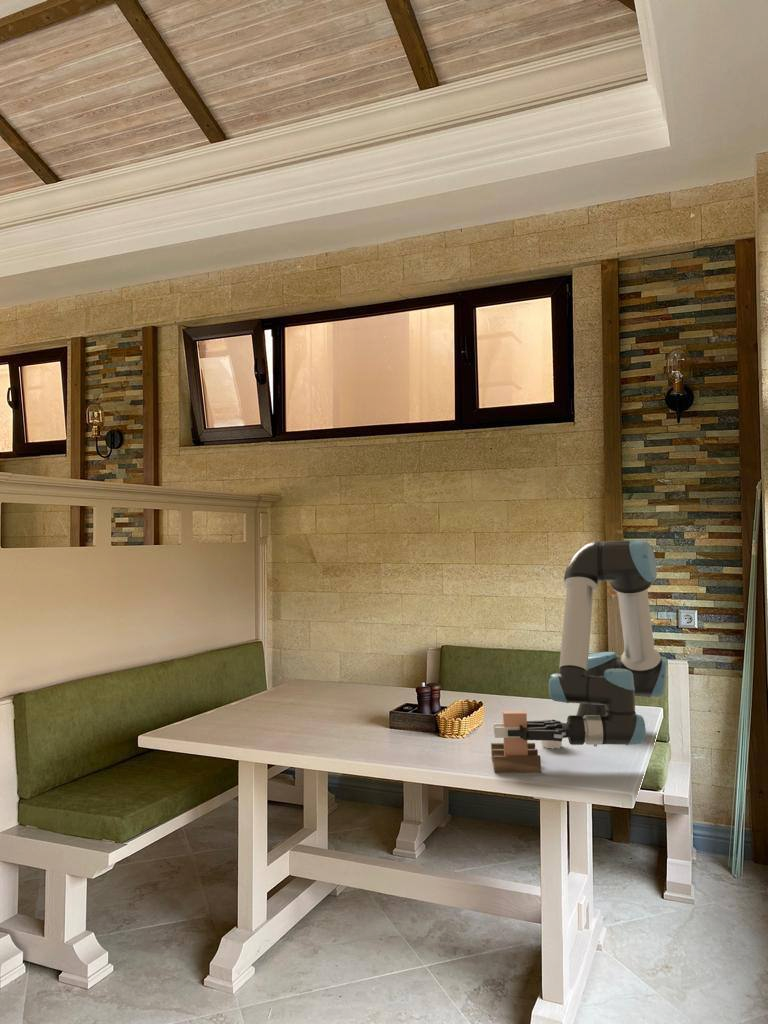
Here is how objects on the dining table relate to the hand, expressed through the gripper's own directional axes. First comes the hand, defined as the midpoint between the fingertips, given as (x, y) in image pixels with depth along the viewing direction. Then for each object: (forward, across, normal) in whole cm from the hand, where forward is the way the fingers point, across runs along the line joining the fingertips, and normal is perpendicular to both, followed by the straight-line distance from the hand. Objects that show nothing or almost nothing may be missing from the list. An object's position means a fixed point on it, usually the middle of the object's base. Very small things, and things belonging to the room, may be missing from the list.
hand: (494, 730), depth 209 cm
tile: (-5, 0, -7) cm, 9 cm away
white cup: (-17, +21, -10) cm, 29 cm away
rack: (-5, +3, -10) cm, 12 cm away
